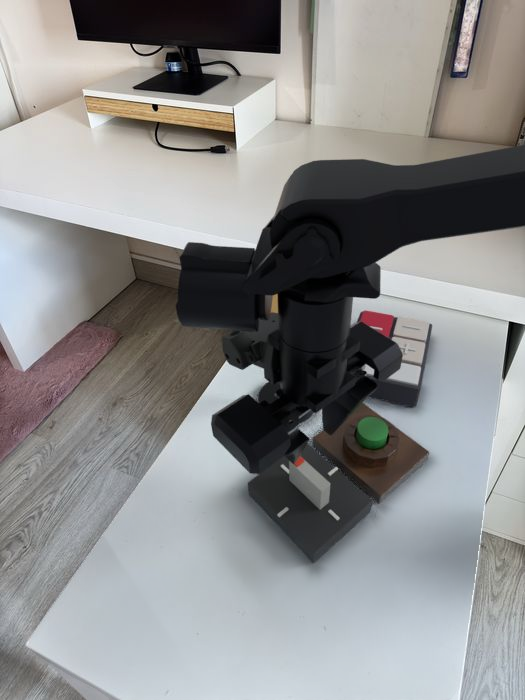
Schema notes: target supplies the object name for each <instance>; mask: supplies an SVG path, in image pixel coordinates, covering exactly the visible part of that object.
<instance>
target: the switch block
mask: <svg viewBox="0 0 525 700" xmlns="http://www.w3.org/2000/svg"><path fill="white" fill-rule="evenodd" d="M367 417H376V418H379V419H381V420H382V421H384V422H385V423H386V425H387V427H388V436H387V441H386V443H385V445H384V446H383V447H381V448H379V449H375V450H371V449H367V448H364V447H363V446H361V445H360V444H359V442H358V441H357V437H356V435H357V427H358V424H359V422H360V421H361V420H362V419H364V418H367ZM312 448H313V449H316V451H318V453H319V454H320V455H322V456H323V457H324V458H325V459H326V460H327V461H328V462H330V463H331V464H332V465H333V466H334V467H337V468H338V470H339V471H340V472H341V473H342V474H343V475H345V476H346V477H347V478H348V479H349V480H350V481H351V482H353V483H355V485H356V486H357V487H358V488H359V489H361V490H362V491H363V492H364V493H365V494H366V495H368V496H369V497H371V499H372V500H374V501H375V502H376V503H377V504H381V503H382V502H383V501H384V500H385V499H386V498H388V497H389V496H390V495H391V494H392V493H393V492H394V491H395V490H396V489H397V488H399V487H400V486H401V485H402V484H403V483H404V482H405V481H406V480H407V479H409V477H411V476H412V475H413V474H414V473H415V472H416V471H418V469H420V468H421V467H422V466H423V465H425V463H426V462H427V461H428V460H429V456H430V453H431V452H430V451H429V450H428V449H426V448H425V447H423V446H422V445H421V444H420V443H418V442H417V441H416V440H414V439H413V438H411V437H410V436H409V435H407V434H406V433H405V432H403V431H402V430H400V429H399V428H398V427H397V426H396V425H394V424H393V423H391V422H390V421H389V420H387V419H386V418H385V417H383V416H381V415H380V414H378V413H377V412H376V411H375V410H373V409H372V408H371V407H370V406H368V405H366V403H364V402H363V403H362V404H361V405H360V406H359V407H358V408H357V409H356V410H355V411H354V412H353V413H352V414H351V415H350V416H349V417H348V418H347V419H346V421H345V422H344V423H343V424H342V425H341V426H340V427H339V428H338V429H337V430H336V431H335V432H334V433H333V434H332V435H329V434H328V433H326V432H325V431H324V429H322V430H321V431H320V432H318V433H317V434H316V435H315V436H313V437H312Z"/></svg>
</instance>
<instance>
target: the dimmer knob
mask: <svg viewBox="0 0 525 700" xmlns="http://www.w3.org/2000/svg"><path fill="white" fill-rule="evenodd" d="M289 480H290V481H291V482H292V483H293V484H294V485H295V486H296V487H297V488H298V489H299V490H300V491H301V492H302V493H303V494H304V495H305V496H306V497H307V498H308V499H309V500H310V501H311V502H312V503H313V504H314V505H316V506H317V507H318V508H319V509H320V510H321V509H322V508H323V507H324V506H325V505H326V504H328V503H329V495H330V483H329V482H328V481H327V480H326V479H325V478H324V477H323V476H322V475H321V474H319V473H318V472H317V471H316V470H315V469H314V468H313V467H312V466H311V465H309V464H308V463H307V462H306V461H305V460H304V459H303V458H302V457H301V456H300V457H299V459H298V460H297V462H296V463H294V464H293V463H291V462H290V461H289Z"/></svg>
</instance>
